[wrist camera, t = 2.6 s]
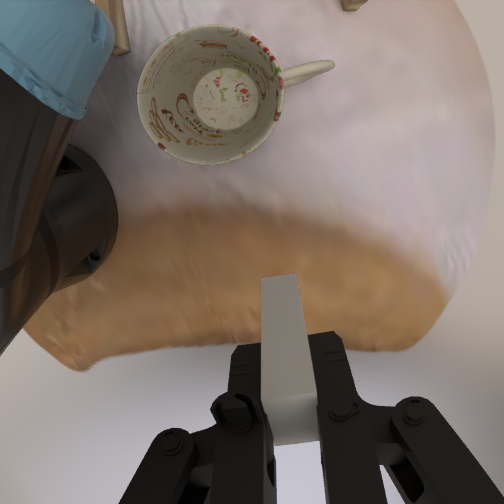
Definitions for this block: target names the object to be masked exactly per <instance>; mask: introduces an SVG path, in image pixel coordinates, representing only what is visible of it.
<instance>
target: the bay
mask: <svg viewBox="0 0 504 504" xmlns="http://www.w3.org/2000/svg"><path fill="white" fill-rule="evenodd" d="M367 1H368V0H341V3H342V7H343V11H357V10H358V9H359V8H360V7H361V6H362V5H363V4H364V3H365V2H367ZM95 5H96V6H97V7H99V8H100V9H101V10H102V11H103V12H104V13H105V14H106V15H107V17H108V18H109V19H110V21H111V22H112V25H113V27H114V32H115V43H114V48H113V51H112V54H115V55H122V54H124V53H127V52H129V51H130V45H129V40H128V34H127V28H126V22H125V15H124V9H123V2H122V0H95Z"/></svg>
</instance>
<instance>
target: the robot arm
mask: <svg viewBox="0 0 504 504" xmlns="http://www.w3.org/2000/svg"><path fill="white" fill-rule="evenodd" d="M114 43H115V32H114V27H113V25H112V22H111V21H110V19H109V18H108V17H107V15H106V14H105V13H104V12H103V11H102V10H101V9H100V8H99V7H97V6H96V5H95V4H93V3H92V2H91V1H89V0H0V356H1V354H2V353H3V352H4V350H5V349H6V348H7V346H8V345H9V344H10V343H11V341H12V340H13V339H14V338H15V336H16V335H17V334H18V333H19V331H20V330H21V329H22V328H23V326H24V325H25V324H26V323H27V322H28V320H29V319H30V318H31V317H32V316H33V314H34V313H35V312H36V311H37V310H38V308H39V307H40V306H41V305H42V304H43V303H44V301H45V300H46V299H47V298H48V297H49V296H50V295H51V294H52V293H54V292H56V291H58V290H61V289H63V288H66V287H68V286H70V285H73V284H75V283H78V282H80V281H83V280H84V279H86V278H88V277H89V276H90V275H92V274H93V273H94V272H95V271H96V270H97V269H98V268H99V267H100V266H101V264H102V263H103V262H104V261H105V260H106V259H107V257H108V256H109V254H110V252H111V250H112V248H113V245H114V243H115V239H116V234H117V226H118V217H117V207H116V202H115V198H114V195H113V192H112V189H111V187H110V184H109V182H108V180H107V178H106V176H105V175H104V173H103V172H102V170H101V169H100V167H99V166H98V165H97V164H96V162H95V161H94V160H93V159H92V158H91V157H90V156H88V155H87V154H86V153H85V152H83V151H82V150H80V149H79V148H77V147H75V146H72V145H70V144H68V143H69V140H70V138H71V136H72V134H73V131H74V129H75V127H76V125H77V123H78V121H79V120H82V118H83V117H84V116H85V114H86V113H87V111H88V104H87V102H88V99H89V97H90V95H91V93H92V91H93V89H94V87H95V85H96V83H97V81H98V79H99V77H100V75H101V73H102V71H103V69H104V67H105V65H106V63H107V61H108V60H109V58H110V56H111V53H112V51H113V48H114ZM210 411H211V413H212V414H213V417H214V419H215V421H216V424H215V425H213V426H212V427H209V428H207V429H204V430H201V431H197V432H194V433H191V434H189V432H188V431H186V430H183V429H181V428H170V429H167V430H164V431H162V432H161V433H159V434H158V435H157V436H156V437H155V439H154V440H153V442H152V443H151V446H150V447H149V449H148V451H147V453H146V454H145V456H144V458H143V460H142V462H141V464H140V465H139V467H138V469H137V471H136V473H135V475H134V476H133V478H132V480H131V482H130V484H129V486H128V487H127V489H126V491H125V493H124V494H123V496H122V498H121V500H120V502H119V504H277V489H276V460H275V456H274V446H273V445H275V446H280V445H289V444H297V443H304V442H312V441H320V449H321V464H322V469H323V478H324V487H325V497H326V504H388V503H387V498H386V494H385V489H384V485H383V480H382V475H381V471H380V466H379V465H383V466H384V467H385V469H386V471H387V472H388V474H389V476H390V478H391V480H392V481H393V483H394V485H395V486H396V488H397V490H398V492H399V493H400V495H401V497H402V499H403V500H404V502H405V504H504V497H503V495H502V494H501V493H500V491H499V490H498V488H497V487H496V486H495V484H494V483H493V482H492V480H491V479H490V477H489V476H488V475H487V473H486V472H485V471H484V469H483V468H482V466H481V465H480V464H479V462H478V461H477V460H476V459H475V457H474V456H473V455H472V453H471V452H470V451H469V449H468V448H467V447H466V445H465V444H464V443H463V441H462V440H461V439H460V437H459V436H458V435H457V434H456V432H455V431H454V430H453V429H452V427H451V426H450V425H449V423H448V422H447V421H446V420H445V418H444V417H443V416H442V415H441V413H440V412H439V411H438V409H437V408H436V407H435V406H434V404H432V403H431V402H430V401H429V400H428V399H425V398H422V397H412V396H411V397H408V398H405V399H403V400H401V401H400V402H399V403H397V404H396V406H395V407H391V406H376V405H372V404H369V403H367V402H365V401H364V400H362V399H361V398H360V396H359V395H358V393H357V391H356V388H355V384H354V380H353V377H352V373H351V369H350V366H349V363H348V360H347V356H346V352H345V349H344V345H343V342H342V339H341V338H340V337H339V336H338V335H337V334H336V333H335V332H334V331H329V332H324V333H318V334H311V335H307V331H306V325H305V320H304V314H303V309H302V304H301V298H300V293H299V288H298V282H297V277H296V273H291V274H285V275H279V276H272V277H266V278H261V343H255V344H246V345H238V346H237V348H236V349H235V351H234V352H233V354H232V355H231V364H230V372H229V382H228V391H227V392H226V393H224V394H222V395H220V396H218V398H217V399H216V400H215V401H214V402H213V403H212V406H211V408H210Z"/></svg>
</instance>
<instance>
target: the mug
mask: <svg viewBox="0 0 504 504" xmlns="http://www.w3.org/2000/svg"><path fill="white" fill-rule="evenodd" d="M334 67H335V63H334V62H333V61H331V60H320V61H314V62H310V63H306V64H302V65H299V66H295V67H292V68H288V69H285V70H282V71H281V70H280V67H279V65H278V63H277V61H276V59H275V58H274V56H273V55H272V53H271V52H270V51H269V49H268V48H267V47H266V46H265V45H264V44H263V43H262V42H261V41H259V40H258V39H257V38H255V37H254V36H252V35H251V34H249V33H247V32H245V31H243V30H240V29H237V28H234V27H230V26H225V25H201V26H197V27H192V28H189V29H186V30H183V31H181V32H179V33H177V34H175V35H173V36H172V37H170V38H169V39H167V40H166V41H165V42H163V43H162V44H161V45H160V46H159V47H158V48H157V49H156V50H155V51H154V52H153V54H152V55H151V56H150V57H149V59H148V61H147V62H146V64H145V66H144V68H143V70H142V72H141V75H140V78H139V82H138V87H137V108H138V113H139V117H140V120H141V123H142V125H143V127H144V129H145V131H146V132H147V134H148V135H149V137H150V138H151V139H152V140H153V142H154V143H155V144H156V145H157V146H158V147H159V148H161V149H162V150H163V151H165V152H166V153H167V154H169V155H171V156H173V157H175V158H177V159H179V160H182V161H184V162H188V163H192V164H199V165H217V164H223V163H227V162H231V161H234V160H236V159H239V158H241V157H243V156H245V155H247V154H248V153H250V152H252V151H253V150H254V149H256V148H257V147H258V146H259V145H260V144H262V143H263V142H264V140H265V139H266V138H267V137H268V136H269V135H270V133H271V132H272V130H273V129H274V127H275V125H276V124H277V122H278V119H279V117H280V114H281V111H282V107H283V102H284V87H286V86H291V85H295V84H298V83H301V82H303V81H305V80H308V79H310V78H312V77H314V76H317V75H319V74H322V73H325V72H327V71H330V70H331V69H333V68H334Z"/></svg>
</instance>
